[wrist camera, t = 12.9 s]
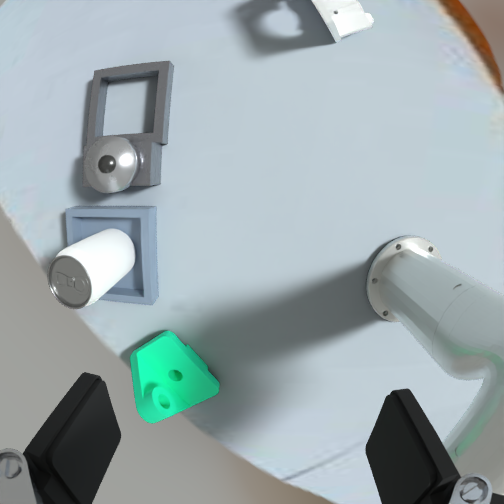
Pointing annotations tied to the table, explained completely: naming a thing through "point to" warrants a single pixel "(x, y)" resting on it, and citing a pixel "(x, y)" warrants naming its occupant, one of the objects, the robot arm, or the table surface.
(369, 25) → the mounting bracket
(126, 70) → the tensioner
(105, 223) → the tray
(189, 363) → the camera mount
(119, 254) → the can
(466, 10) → the table surface
